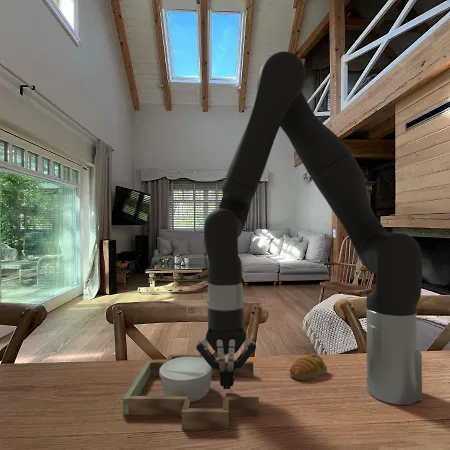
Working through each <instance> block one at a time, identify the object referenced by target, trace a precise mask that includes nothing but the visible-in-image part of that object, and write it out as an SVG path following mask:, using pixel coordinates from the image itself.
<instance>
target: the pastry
mask: <svg viewBox="0 0 450 450" xmlns="http://www.w3.org/2000/svg"><path fill="white" fill-rule="evenodd" d="M327 371H328V367H327V366H326V363H325V362H324V360H323V358H322V357H321V356H320V355H319V354H317V353H312V354H311V353H308V354H306V355H304V356H301V357H298V358H297V359H296V360H295V361H294V362H293V364H292V365H291V366H290V369H289V374H290V377H291V378H294V379H297V380H300V381H306V380H314V379H316V378H318V377H321V376H323V375H324V374H325V373H326V372H327Z"/></svg>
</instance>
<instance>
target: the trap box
mask: <svg viewBox="0 0 450 450" xmlns="http://www.w3.org/2000/svg"><path fill="white" fill-rule="evenodd" d="M180 357H199V358H203V357H202V355H201V354H178V353H177V354H176V353H175V354H172V353H171V354H170V353H169V355H168V357H167V359H166V360H147V361H146V363H145V364H144V365H143V367H142V369H141V370H140V372H139V373H138V374H137V376H136V378H135V379H134V381H133V382H132V384H131V385H130V387H129V389H128V390H127V392H126V394H125V395H124V396H123V398H122V415H123V416H171V417H172V416H176V417H177V416H179V417H181V430H215V431H218V430H221V431H222V430H223V431H224V430H225V431H228V430H229V428H230V425H229V424H230V423H229V422H230V421H229V419H230V417H259V416H260V398H259V396H225V399H223V401H222V408H198V407H197V408H196V407H195V408H192V407H191V403H192V402H191V399H189V396H165V395H141V394H142V392H143V390H144V388H145V387H146V385H147V383H148V381H149V379H150V377H151V376H157V377H160V374H159V370H160V368H161V366H162V365H163V364H164V363H166V362H168V361H170V360H172V359H176V358H180ZM225 364H226V367H227V368H228V360H225ZM233 375H234V377H254V360H253V361H252V360H251V361H248V360H247V361H246V362H245V363H244V365H243V366H242V367H241V368H240V369H239V368H237V369H235V370H234V372H233ZM212 377H220V371H219V370H218V369H216V368H215V369H213V373H212ZM229 431H230V430H229Z"/></svg>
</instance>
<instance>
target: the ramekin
mask: <svg viewBox="0 0 450 450" xmlns="http://www.w3.org/2000/svg"><path fill="white" fill-rule="evenodd" d="M212 373H213V369H212V368H211V367H210V365H209V364H208V363H207V362H206V360H205V359H204V358H203V357H202V358H199V357H180V358H176V359H172V360H170V361H168V362H166V363H164V364H163V365H162V366H161V368H160V370H159V374H160V376H159V378H160V380H161V386H162V391H163V394H164V396H189V399H191V403H194V402H198V401H199V400H202V399H203V398H204V397H206V396H207V394H208V393H209V391H210V390H211V389H210V388H211V384H212V377H213V376H212Z"/></svg>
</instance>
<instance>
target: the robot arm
mask: <svg viewBox="0 0 450 450" xmlns="http://www.w3.org/2000/svg"><path fill="white" fill-rule="evenodd" d="M260 67H261V68H260V70H259V73H258V77H257V85H256V94H255V99H254V102H253V107H252V109H251V113H250V116H249V118H248V122H247V124H246V127H245V129H244V131H243V134H242V136H241V138H240V141H239V144H238V145H237V148H236V149H235V152H234V155H233V157H232V160H231V162H230V164H229V167H228V170H227V172H226V175H225V177H224V178H225V179H224V180H223V183H222V187H221V191H222V198H221V200H220V203H219V206H218V208H217V209H214V210H212V211H211V212H210V213H208V215H207V217H205V221H204V225H203V234H204V235H203V236H204V243H205V244H204V245H205V249H206V255H207V259H208V268H207V269H208V271H207V273H208V278H207V279H208V286H207V287H208V288H207V301H206V304H207V332H206V333H205V337H204V338H203V339H202V340H198V341H197V343H196V351H197V352H198V353H199V355H202V358H204V359H205V360H206V362H207V363H208V364H209V365H210V367H211V368H212V369H215V368H216V369H218V370H219V371H220V376H219V385H220V387H222V389H223V390H230V389H231V387H234V380H235V379H234V377H235V376H234V375H233V372H234V370H235V369H237V368H239V369H240V368H241V367H242V366H243V365H244V363H245V362H246V361H248V359H249V358H250V356H252V354H253V353H254V352H255V350H256V348H257V346H256V345H257V344H256V342H255V340H254V339H253V340H251V339H250V338H248V337H247V332H246V331H245V327H244V326H245V323H244V322H245V318H244V313H245V312H244V304H245V300H244V291H243V289H244V288H243V276H242V275H243V272H242V269H243V267H242V261H241V257H240V256H239V244H238V243H239V241H238V240H239V238H240V236H241V234H242V232H243V231H244V228H245V226H246V223H247V220H248V216H249V213H250V208H251V204H252V201H253V199H254V197H255V195H256V192H257V189H258V186H259V185H260V182H261V179H262V177H263V175H264V172H265V169H266V166H267V163H268V160H269V157H270V154H271V151H272V148H273V145H274V142H275V139H276V137H277V135H278V131H279V130H280V128H281V130H282V131H283V132H284V133H285V136H287V137H288V140H289V142H290V143H291V145H292V147H293V149H294V151H295V152H296V154H297V157H298V158H299V160H300V161H301V163H302V164H303V166H304V169H305V170H306V171H307V173H308V175H309V176H310V178H311V180H312V181H313V183H314V185H315V186H316V188H317V189H318V190H319V192H320V194H321V195H322V196H323V198H324V199H325V201H326V202H327V204H328V206H329V207H330V209H331V210H332V212H333V213H334V215H335V217H336V218H337V219H338V221H339V222H340V223H341V225H342V227H343V228H344V230H345V232H346V234H347V236H348V237H349V239H350V240H349V241H350V242H351V244H352V246H353V249H354V250H355V253H356V254H357V256H358V258H359V261H360V262H361V263H362V265H363V266H364V267H365V268H366V270H368V271H369V272H372V273H373V274H375V275H376V276H375V277H376V278H375V288H374V291H372V292H370V293H368V294H367V295H366V298H365V299H366V300H365V302H366V303H365V304H366V305H365V307H366V388H367V389H366V390H367V391H368V393H369V394H370V395H371V396H372V397H374V398H375V399H378V400H379V401H381V402H384V403H387V404H391V405H399V406H408V405H412V404H415V403H416V402H423V354H422V352H421V351H420V350H418V340H417V339H418V337H417V336H418V333H417V332H418V331H417V328H418V327H417V323H418V321H417V306H418V303H419V302H420V300H421V296H422V283H423V281H422V280H423V253H422V249H421V247H420V245H419V243H418V241H417V240H416V239H415V238H414V237H413V236H411V235H410V234H407V233H403V232H402V233H401V232H388V231H387V230H386V228H385V227H384V226H383V225H382V223H381V221H380V219H378V217H377V215H376V214H375V212H374V211H373V208H372V206H371V203H370V201H369V200H370V199H369V195H368V189H367V188H368V187H367V183H366V179H365V175H364V173H363V170H362V168H361V167H360V165H359V163H358V161H357V160H356V158H355V157H354V155H353V153H352V152H351V150H350V149H349V147H348V146H347V145H346V143H344V142H343V140H341V138H340V137H339V136H338V135H336V133H334V132H333V131H332V130H331V129H330V128H328V127H327V126H326V125H325V124H324V123H322V121H320V119H319V118H318V117H317V116H316V115H315V113H314V111H313V110H312V108H311V106H310V104H309V103H308V101H307V99H306V97H305V95H304V93H303V89H304V85H305V83H306V68H305V65H304V63H303V61H302V60H301V58H300V56H299V57H298V55H297V54H295V53H293V52H290V51H278V52H276V53H273V54H272V55H270V56H269V57H268V58H267V59H266V60H265V61H264V62H263V64H262V65H261V66H260ZM209 346H210V347H211V348H212V350H213V351H214V353H216V354H217V358H216V357H215V356H214V354H213V353H212V351H210V349H209V348H210V347H209ZM242 346H243V350H242V351H241V352H240V354H239V355H238V357H237V358H236V359H235V354H236V353H238V352H239V350H240V348H241V347H242ZM226 354H227V361H228V368H227V367H226V364H225V361H226Z"/></svg>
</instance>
